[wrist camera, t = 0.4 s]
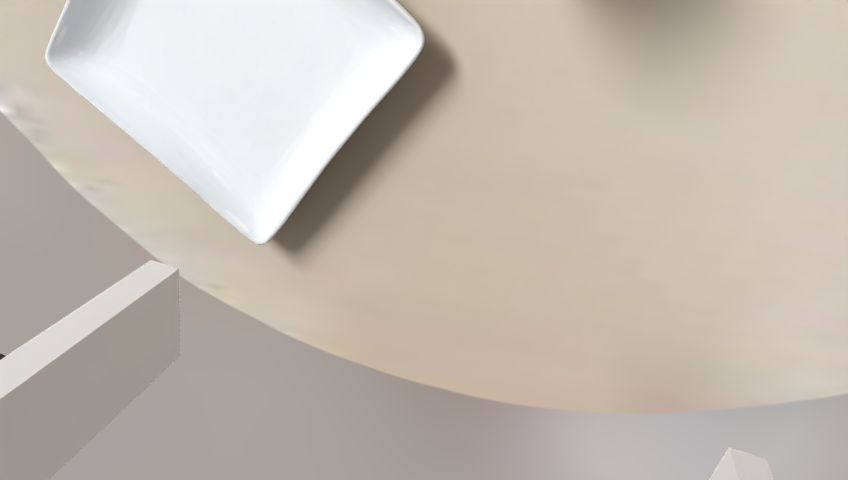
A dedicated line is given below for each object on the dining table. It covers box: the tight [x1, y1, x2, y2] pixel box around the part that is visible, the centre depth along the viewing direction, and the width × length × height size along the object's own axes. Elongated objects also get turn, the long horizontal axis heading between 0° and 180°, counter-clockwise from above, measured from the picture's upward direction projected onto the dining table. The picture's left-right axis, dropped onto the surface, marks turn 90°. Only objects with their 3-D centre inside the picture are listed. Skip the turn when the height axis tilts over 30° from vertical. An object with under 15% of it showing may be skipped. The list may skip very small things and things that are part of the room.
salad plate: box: [45, 0, 425, 245], centre depth 39 cm, size 21×21×3 cm
